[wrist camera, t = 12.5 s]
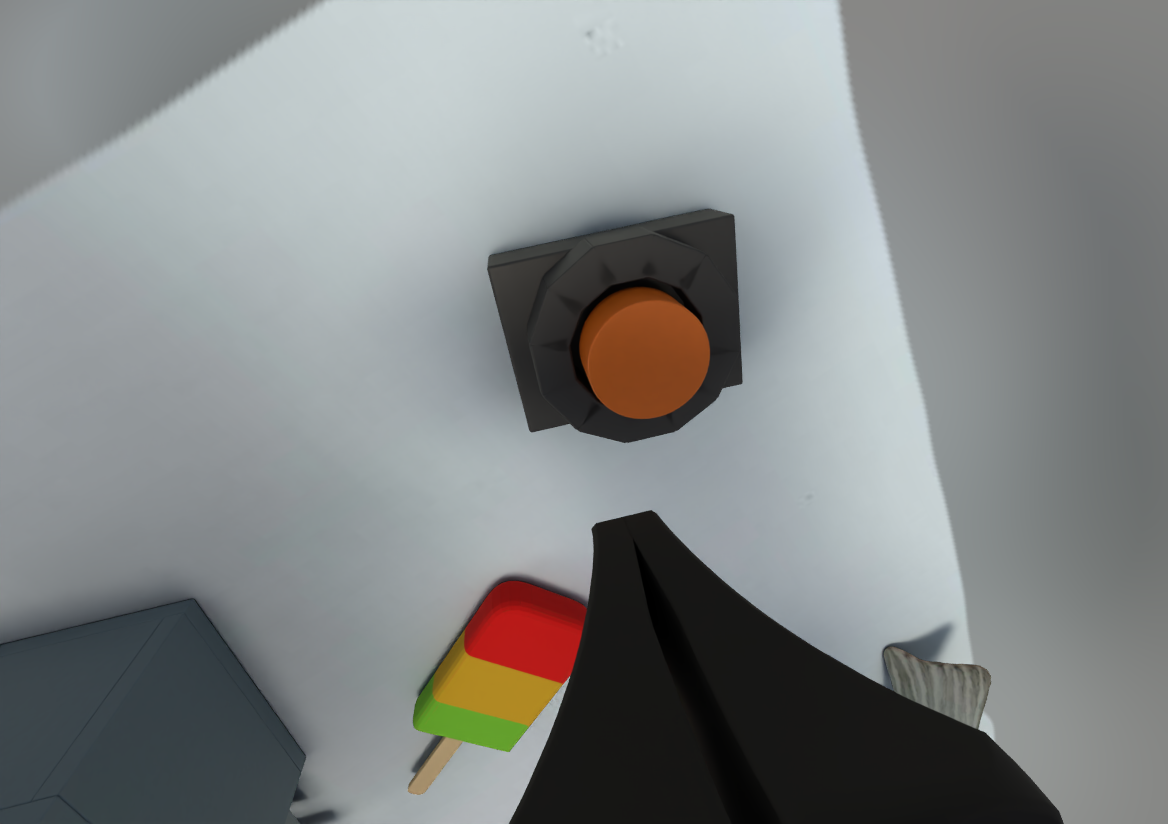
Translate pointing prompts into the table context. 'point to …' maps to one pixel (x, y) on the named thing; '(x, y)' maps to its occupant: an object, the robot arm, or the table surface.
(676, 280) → the control block
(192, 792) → the drawer cabinet
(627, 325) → the button
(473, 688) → the popsicle
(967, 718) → the figurine
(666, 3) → the table surface
